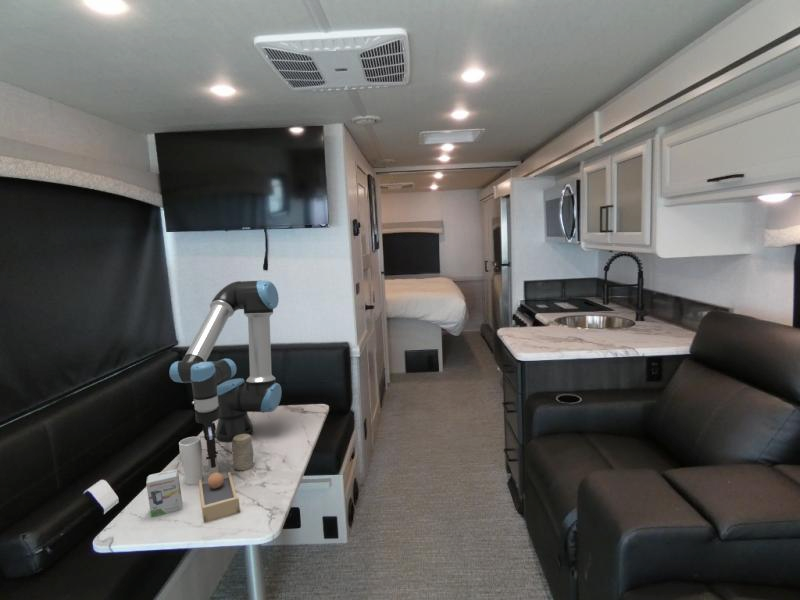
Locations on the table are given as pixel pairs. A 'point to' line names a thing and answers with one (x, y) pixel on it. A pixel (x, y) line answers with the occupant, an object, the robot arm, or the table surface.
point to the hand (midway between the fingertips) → (214, 474)
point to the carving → (242, 452)
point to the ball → (215, 480)
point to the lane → (219, 500)
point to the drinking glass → (191, 459)
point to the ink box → (164, 492)
